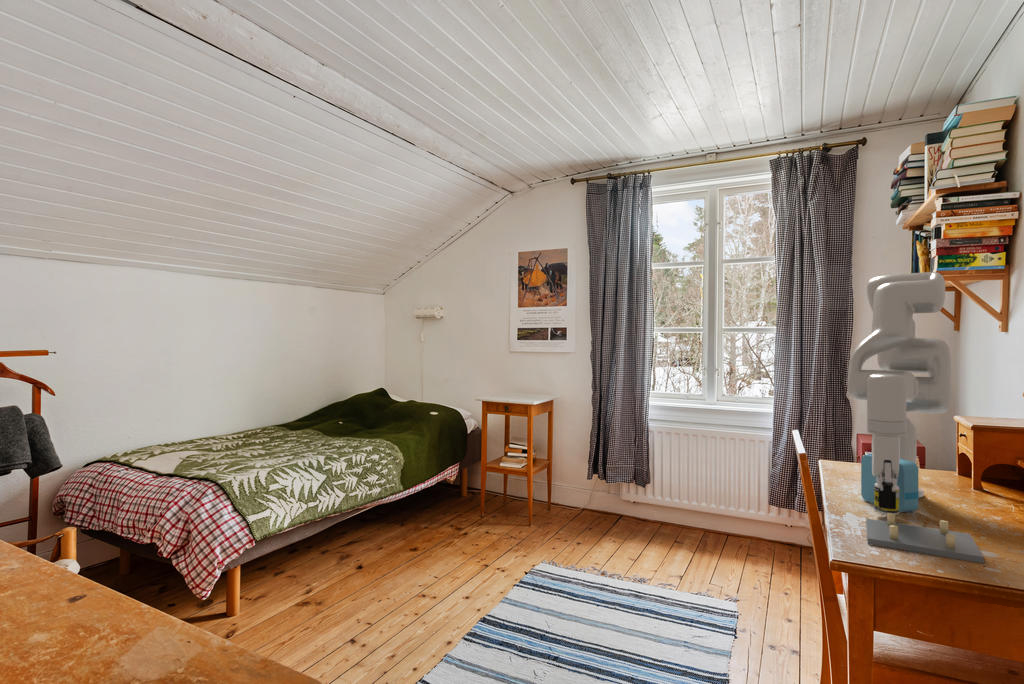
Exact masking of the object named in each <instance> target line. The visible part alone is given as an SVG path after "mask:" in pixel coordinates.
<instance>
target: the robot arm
mask: <svg viewBox="0 0 1024 684" xmlns="http://www.w3.org/2000/svg"><path fill="white" fill-rule="evenodd" d="M866 284H867V285H866V293H867V299H868V300H867V301H868V304H869V306H870V308H871V311H872V322H871V323H872V324H871V334H869V335H868V336H867V337H865V338H864V339H863V340H862V341H860V343H859V344H858V345H857V346H856V347H855V349H854V350H853V351H852V353H851V355H850V358H849V361H848V369H847V371H848V372H847V379H846V381H847V382H846V383H847V387H846V388H847V392H848V394H849V395H850V396H851V397H852V398H854V399H856V400H861V401H866V432H867V433H868V434H871V454H872V475H873V476H874V477H876V476H880V490H879V507H880V508H887V509H896V492H895V479H897V478H898V476H899V464H900V459H903V460H907V461H912V462H914V463H915V464H916V465H917V438H918V437H917V428H916V426H915V424H914V422H913V421H912V420H911V419H910V418H908V416H907V413H918V414H919V413H921V414H935V415H936V414H945V413H947V412H948V411H949V409H950V408H951V405H952V362H951V361H952V358H951V350H950V347H949V345H948V343H947V342H946V341H945V340H943V339H940V338H934V337H933V338H932V337H923V338H922V337H919V338H917V337H916V322H915V319H914V317H913V314H935V313H938V312H939V313H940V311H941V310H942V309H943V307H944V305H945V299H946V281H945V278H944V276H943V275H942V274H941V273H939V272H938V271H937V272H936V271H929V272H928V271H926V272H912V273H893V274H883V275H879V276H875V277H872V278H871V279H870V280H868V282H867V283H866ZM875 356H877V364H878V366H879V369H863V365H864V364H865V362H867V361H868V360H869V359H870V358H872V357H875ZM914 374H925V375H927V376H915V375H914ZM882 474H884V475H885V477H882ZM891 475H892V478H891ZM883 480H885V481H883ZM924 496H925V493H924V490H923V489H921V488H919V487H918V499H920V498H923V497H924Z"/></svg>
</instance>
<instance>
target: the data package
mask: <svg viewBox="0 0 1024 684" xmlns="http://www.w3.org/2000/svg"><path fill="white" fill-rule="evenodd" d="M860 465H861V466H860V468H861V469H860V475H861V476H860V481H861V482H860V485H861V487H860V491H861V493H860V494H861V497H862V499H863V500H864V501H866V502H868V503H870V502H871V503H870V504H873V505H874V485H875V483H877V481H876V477H874V476H873V475H872V453H870V454H863V455H862V457H861V460H860ZM896 485H897V486H898V487H899V513H909V512H915V511H917V510H919V498H918V488H919V467H918V465H917V463H916V464H915V463H914V462H912V461H907V460H903V459H900V464H899V476H898V478H897V484H896Z"/></svg>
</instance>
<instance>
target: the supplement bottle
mask: <svg viewBox="0 0 1024 684" xmlns="http://www.w3.org/2000/svg"><path fill="white" fill-rule="evenodd" d="M882 477H885V475H884V474H882ZM891 478H892V475H891ZM876 481H877V483H875V485H874V504H873V507H874V511H875V512H877V513H878V514H882V515H887V513H893V514H895V516H896V515H899V514H900V512H899V487H898V486H897V485H896V484H897V479H895V492H896V509H887V508H880V507H879V490H880V476H876ZM883 481H885V480H883Z"/></svg>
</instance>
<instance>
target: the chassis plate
mask: <svg viewBox="0 0 1024 684" xmlns="http://www.w3.org/2000/svg"><path fill="white" fill-rule="evenodd" d="M865 524H866V525H865V526H866V539H867V541H868V542H867V545H871V544H872V545H873V546H877V547H884V548H890V549H896V550H901V551H907V552H913V553H919V554H924V555H926V554H927V555H932V556H937V557H943V558H949V559H955V560H960V561H966V562H972V563H977V564H978V563H979V564H984V562H985V561H984V555H983V554H982V552H981V550H980V549H979V547H978V545H977V543H976V542H975V540H974V539H973V536H972V535H971V534H970V533H967V532H960V531H954V530H949V521H947V520H944V519H941V520H939V528H933V527H927V526H921V525H911V524H908V523H907V524H905V523H900V522H898V523H897V522H896V515H895V514H893V513H887V520H886V521H885V520H879V519H872V518H866V519H865Z"/></svg>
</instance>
